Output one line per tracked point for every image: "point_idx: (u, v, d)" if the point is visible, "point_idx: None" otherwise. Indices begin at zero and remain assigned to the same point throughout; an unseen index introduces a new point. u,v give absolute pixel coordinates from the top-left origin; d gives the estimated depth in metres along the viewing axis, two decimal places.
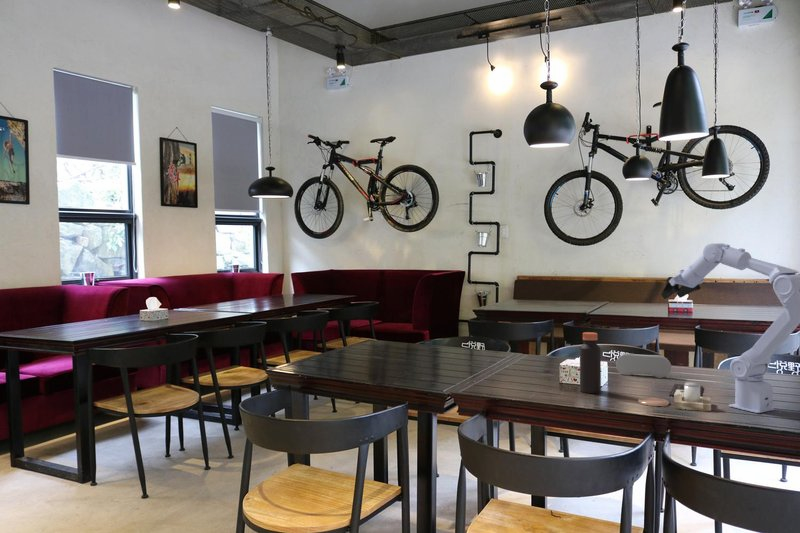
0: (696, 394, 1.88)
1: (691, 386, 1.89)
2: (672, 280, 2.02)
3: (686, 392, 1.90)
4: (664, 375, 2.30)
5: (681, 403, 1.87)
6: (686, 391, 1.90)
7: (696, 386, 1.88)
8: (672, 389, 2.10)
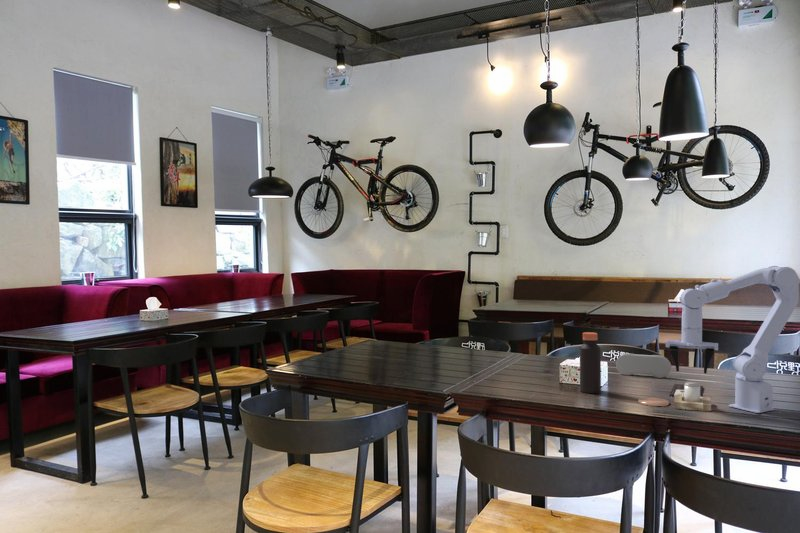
0: (696, 394, 1.88)
1: (691, 386, 1.89)
2: None
3: (686, 392, 1.90)
4: (664, 375, 2.30)
5: (681, 403, 1.87)
6: (686, 391, 1.90)
7: (696, 386, 1.88)
8: (672, 389, 2.10)
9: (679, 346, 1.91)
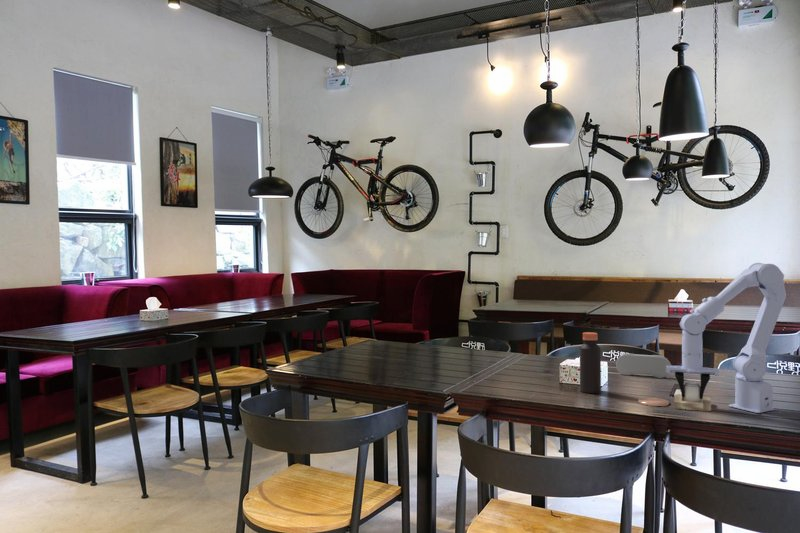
0: (696, 394, 1.88)
1: (691, 386, 1.89)
2: (718, 371, 1.87)
3: (686, 392, 1.90)
4: (664, 375, 2.30)
5: (681, 403, 1.87)
6: (686, 391, 1.90)
7: (696, 386, 1.88)
8: (672, 389, 2.10)
9: (680, 372, 1.91)
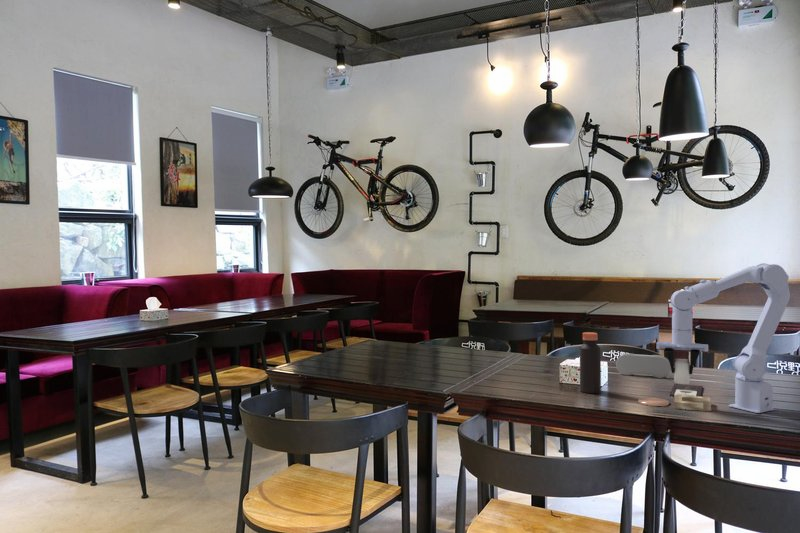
0: (685, 370, 1.89)
1: (681, 362, 1.90)
2: None
3: (676, 368, 1.91)
4: (664, 375, 2.30)
5: (681, 403, 1.87)
6: (676, 367, 1.91)
7: (686, 362, 1.89)
8: (672, 389, 2.10)
9: (670, 347, 1.92)
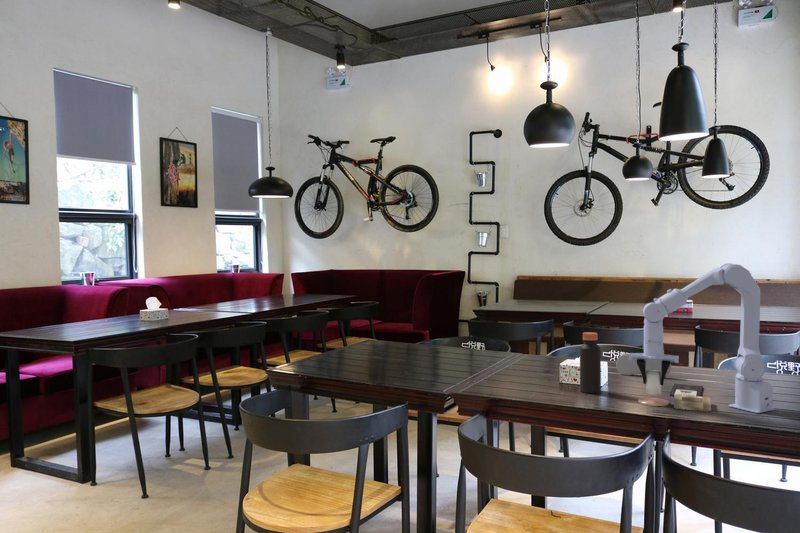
0: (656, 381, 1.93)
1: (652, 373, 1.93)
2: (678, 358, 1.92)
3: (647, 379, 1.94)
4: None
5: (681, 403, 1.87)
6: (647, 378, 1.94)
7: (656, 373, 1.93)
8: (672, 389, 2.10)
9: (641, 359, 1.96)
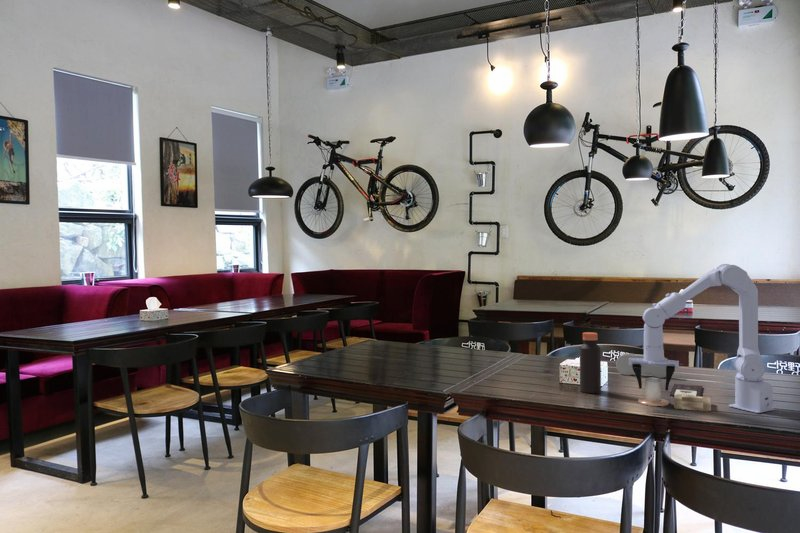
0: (656, 389, 1.93)
1: (651, 381, 1.93)
2: (678, 363, 1.92)
3: (647, 387, 1.94)
4: (664, 375, 2.30)
5: (681, 403, 1.87)
6: (647, 386, 1.94)
7: (656, 381, 1.93)
8: (672, 389, 2.10)
9: (641, 364, 1.96)
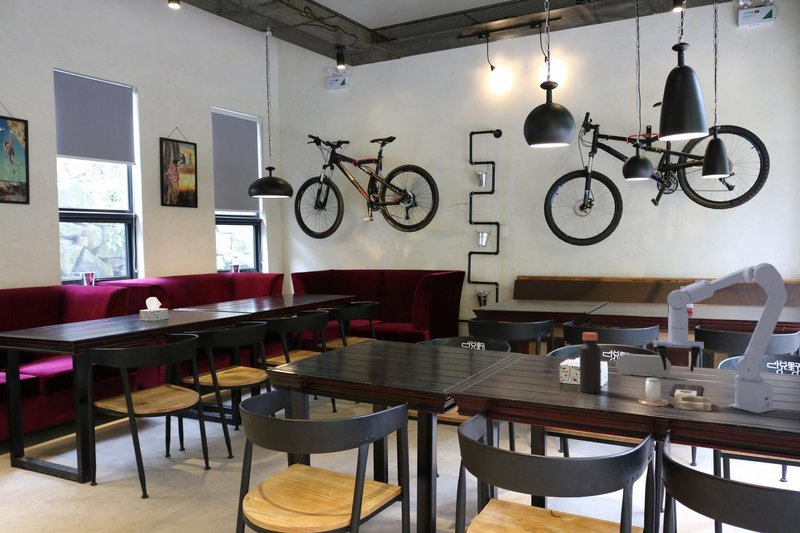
0: (656, 389, 1.93)
1: (651, 381, 1.93)
2: (703, 344, 1.94)
3: (647, 387, 1.94)
4: (664, 375, 2.30)
5: (681, 403, 1.87)
6: (647, 386, 1.94)
7: (656, 381, 1.93)
8: (672, 389, 2.10)
9: (666, 345, 1.98)
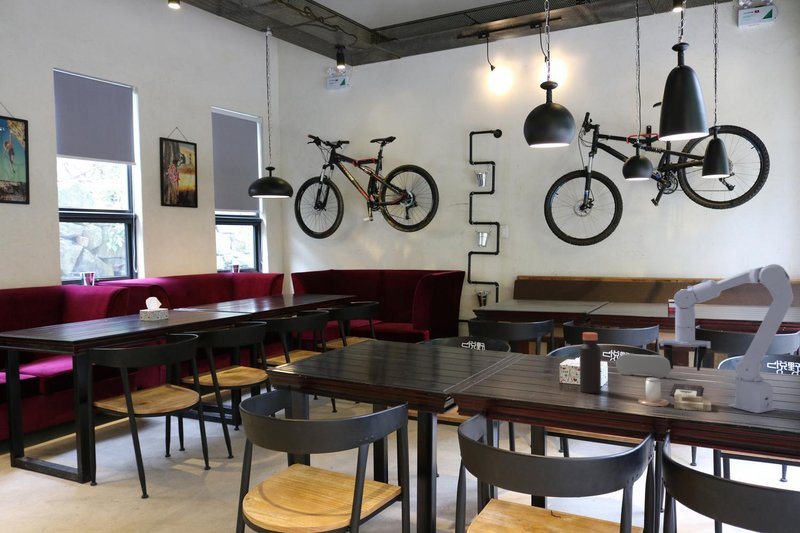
0: (656, 389, 1.93)
1: (652, 381, 1.93)
2: None
3: (647, 387, 1.94)
4: (664, 375, 2.30)
5: (681, 403, 1.87)
6: (647, 386, 1.94)
7: (656, 381, 1.93)
8: (672, 389, 2.11)
9: (673, 345, 1.99)
